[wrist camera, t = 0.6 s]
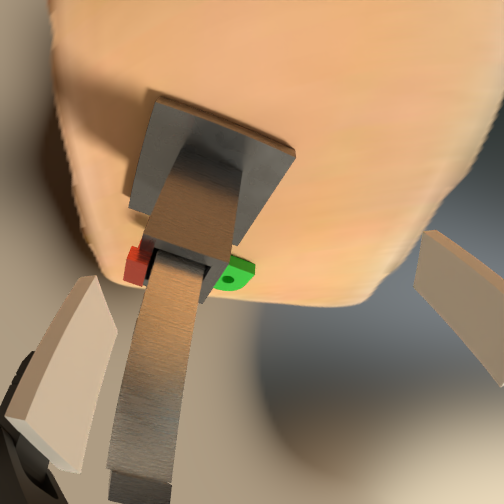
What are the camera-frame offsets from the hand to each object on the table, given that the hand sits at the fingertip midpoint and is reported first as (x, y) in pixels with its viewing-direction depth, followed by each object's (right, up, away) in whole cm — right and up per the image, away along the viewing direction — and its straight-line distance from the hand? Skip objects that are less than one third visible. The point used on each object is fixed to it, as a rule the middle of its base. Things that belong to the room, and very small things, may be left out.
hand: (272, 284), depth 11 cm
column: (-6, +8, +19) cm, 21 cm away
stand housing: (-6, +9, +20) cm, 23 cm away
